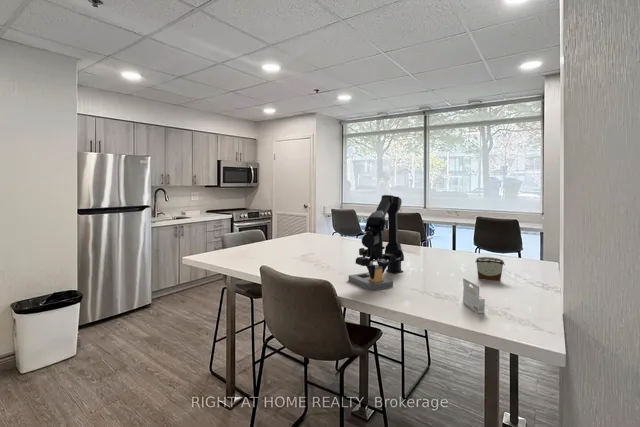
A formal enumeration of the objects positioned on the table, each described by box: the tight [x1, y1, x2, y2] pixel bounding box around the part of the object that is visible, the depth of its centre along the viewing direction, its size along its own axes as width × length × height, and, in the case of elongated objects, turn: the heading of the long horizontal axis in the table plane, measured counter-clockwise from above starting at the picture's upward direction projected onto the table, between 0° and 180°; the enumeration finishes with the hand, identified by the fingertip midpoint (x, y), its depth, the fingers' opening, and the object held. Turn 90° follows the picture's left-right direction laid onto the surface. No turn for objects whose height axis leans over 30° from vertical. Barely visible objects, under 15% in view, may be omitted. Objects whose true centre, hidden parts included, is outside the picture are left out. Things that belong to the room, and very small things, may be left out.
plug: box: [370, 264, 383, 283], centre depth 148 cm, size 4×4×8 cm
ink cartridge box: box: [462, 278, 486, 314], centre depth 121 cm, size 2×11×10 cm, turn 5°
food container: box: [475, 256, 505, 283], centre depth 158 cm, size 12×6×10 cm, turn 65°
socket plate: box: [348, 271, 394, 292], centre depth 152 cm, size 12×18×2 cm, turn 28°
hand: (376, 278), depth 148 cm, fingers closed on plug, 4 cm apart
